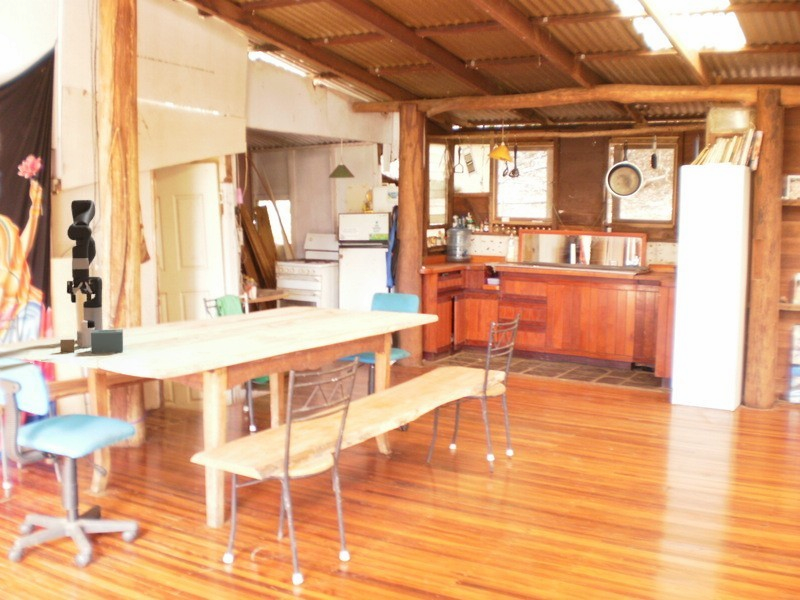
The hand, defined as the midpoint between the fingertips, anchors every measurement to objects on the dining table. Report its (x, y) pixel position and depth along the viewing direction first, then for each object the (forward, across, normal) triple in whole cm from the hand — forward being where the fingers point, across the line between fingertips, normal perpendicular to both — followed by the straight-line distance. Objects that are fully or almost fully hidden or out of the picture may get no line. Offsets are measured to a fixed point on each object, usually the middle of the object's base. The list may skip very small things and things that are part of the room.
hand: (81, 301), depth 390 cm
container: (+24, -15, -14) cm, 32 cm away
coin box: (+24, -9, +7) cm, 27 cm away
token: (+24, +4, -6) cm, 25 cm away
